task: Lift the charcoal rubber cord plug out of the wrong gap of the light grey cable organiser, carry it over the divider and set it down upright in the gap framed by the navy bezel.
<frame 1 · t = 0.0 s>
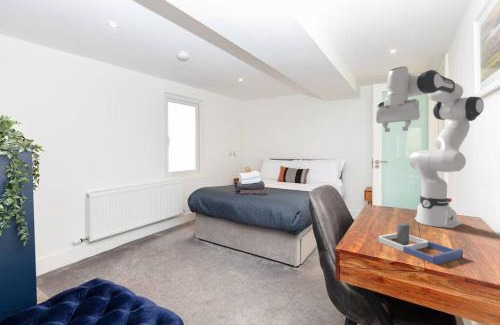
hand: (395, 131, 121), 48 cm above the table, fingers open, 8 cm apart
organiser: (416, 248, 101), on the table
cord plug: (402, 243, 106), resting in organiser
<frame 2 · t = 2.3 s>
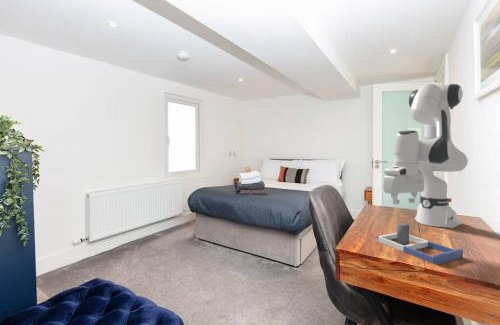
hand: (403, 203, 105), 17 cm above the table, fingers open, 8 cm apart
nothing on the table moved.
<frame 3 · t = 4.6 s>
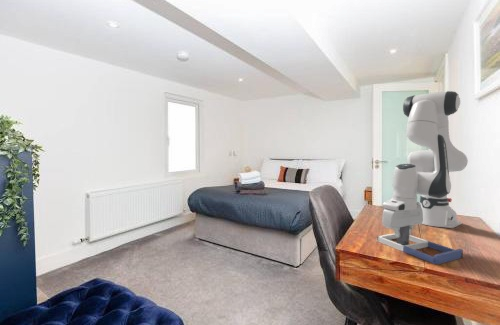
hand: (402, 236, 106), 3 cm above the table, fingers closed on cord plug, 4 cm apart
cord plug: (402, 243, 106), resting in organiser, touching gripper
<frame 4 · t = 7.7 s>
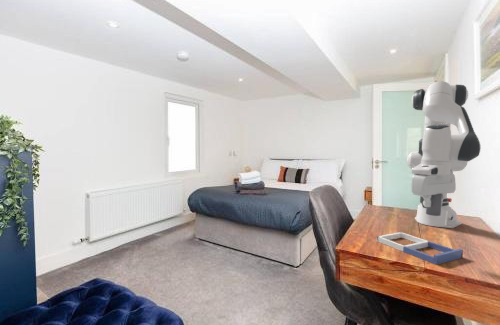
hand: (433, 206, 94), 18 cm above the table, fingers closed on cord plug, 4 cm apart
cord plug: (433, 214, 94), point 15 cm above the table, touching gripper
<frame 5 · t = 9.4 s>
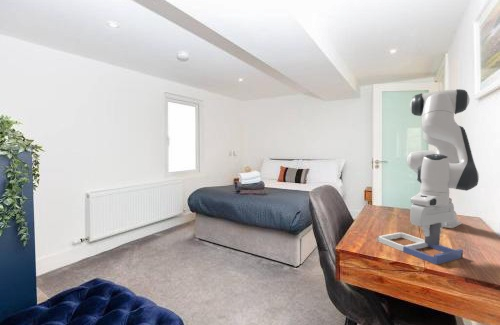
hand: (432, 235, 95), 7 cm above the table, fingers closed on cord plug, 4 cm apart
cord plug: (431, 243, 95), point 4 cm above the table, touching gripper
when the fingers open (5 cm above the table, at t = 10.8 s): cord plug drops 1 cm, resting in organiser.
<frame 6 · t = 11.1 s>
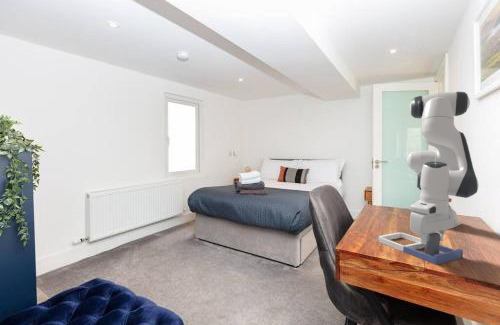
hand: (431, 242, 95), 5 cm above the table, fingers open, 7 cm apart
cord plug: (431, 254, 95), resting in organiser
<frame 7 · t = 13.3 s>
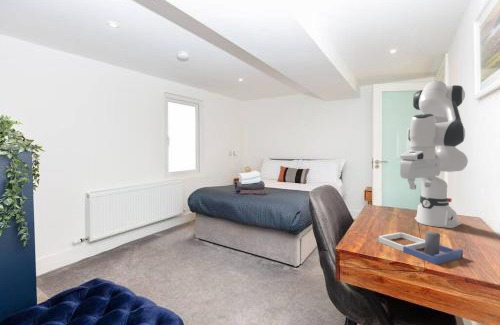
hand: (420, 188, 104), 23 cm above the table, fingers open, 8 cm apart
nothing on the table moved.
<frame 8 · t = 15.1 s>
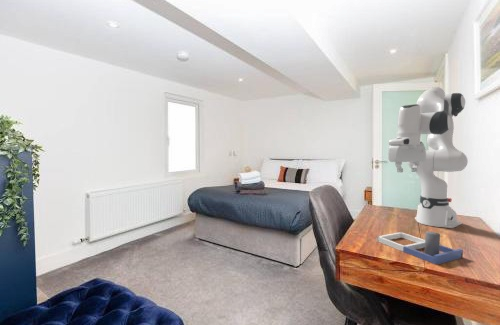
hand: (407, 172, 114), 29 cm above the table, fingers open, 8 cm apart
nothing on the table moved.
at the end: cord plug inside the target area on the organiser (0.2 cm from its centre), point 0.0 cm above the organiser's base; cord plug tilted 0°; the gripper is holding nothing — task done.
